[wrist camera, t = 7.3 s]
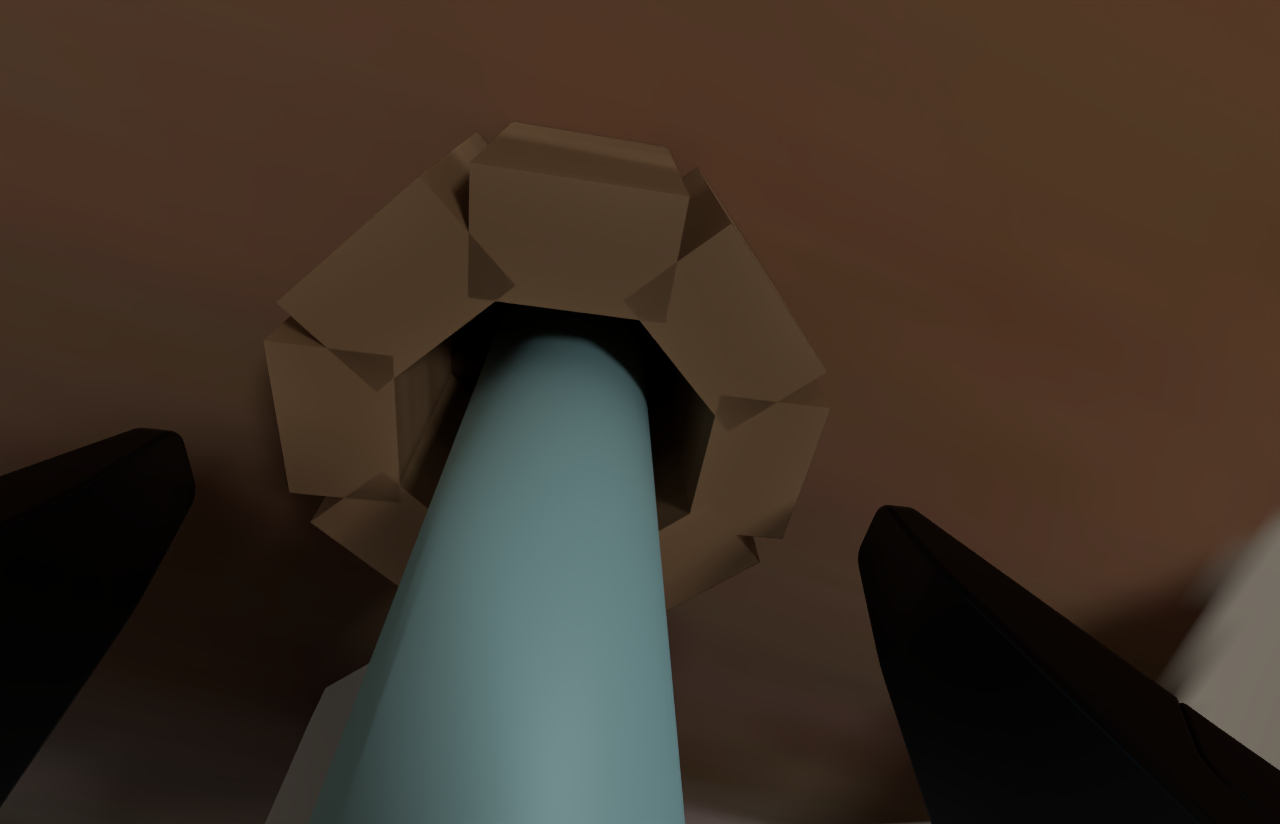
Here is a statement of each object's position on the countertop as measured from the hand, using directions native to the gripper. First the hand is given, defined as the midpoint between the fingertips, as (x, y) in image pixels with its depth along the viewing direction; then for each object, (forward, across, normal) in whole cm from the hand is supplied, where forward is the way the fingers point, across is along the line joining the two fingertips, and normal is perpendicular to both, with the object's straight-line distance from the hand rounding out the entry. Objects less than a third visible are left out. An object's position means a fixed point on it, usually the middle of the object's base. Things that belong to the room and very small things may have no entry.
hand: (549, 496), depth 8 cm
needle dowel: (+4, 0, 0) cm, 5 cm away
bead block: (+4, 0, 0) cm, 4 cm away
